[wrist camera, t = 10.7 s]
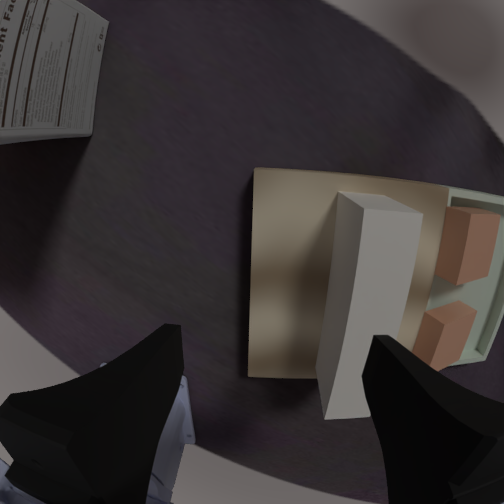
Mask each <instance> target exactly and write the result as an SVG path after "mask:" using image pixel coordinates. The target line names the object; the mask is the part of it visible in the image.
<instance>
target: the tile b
mask: <svg viewBox="0 0 504 504" xmlns="http://www.w3.org/2000/svg"><path fill="white" fill-rule="evenodd" d="M500 217H501V215H500V214H497V213H494V212H491V211H488V210H485V209H482V208H474V207H454V206H447V207H446V214H445V221H444V227H443V233H442V239H441V244H440V250H439V255H438V259H437V264H436V269H435V273H434V274H435V275H437V276H439V277H441V278H443V279H445V280H446V281H448V282H450V283H452V284H454V285H456V286H457V285H460V284H464V283H467V282H471V281H474V280H477V279H481V278H484V277H487V276H488V273H489V269H490V265H491V261H492V257H493V253H494V248H495V244H496V239H497V234H498V228H499V223H500Z"/></svg>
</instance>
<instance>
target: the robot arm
mask: <svg viewBox="0 0 504 504" xmlns="http://www.w3.org/2000/svg"><path fill="white" fill-rule="evenodd" d="M183 371H184V361H183V349H182V337H181V325H174V324H164V325H162V326H161V327H159V328H158V329H157V330H155V331H154V332H153V333H151V334H150V335H149V336H148V337H146V338H145V339H144V340H142V341H141V342H139V343H138V344H137V345H135V346H134V347H133V348H131V349H130V350H128V351H127V352H125V353H123V354H122V355H120V356H119V357H117V358H116V359H114V360H113V361H111V362H109V363H102V364H101V365H100V368H98V369H96V370H94V371H92V372H90V373H88V374H85V375H83V376H80V377H78V378H75V379H72V380H70V381H67V382H65V383H61V384H58V385H55V386H51V387H47V388H43V389H38V390H33V391H27V392H20V393H13V394H10V395H9V396H8V398H7V399H6V400H5V401H4V403H3V404H2V405H1V406H0V442H1V443H2V445H3V446H4V447H5V449H6V450H7V452H8V453H9V454H10V456H11V457H12V458H13V460H14V461H13V463H12V464H11V466H9V465H8V464H7V463H6V462H5V461H3V460H2V459H0V504H173V503H171V502H170V500H171V496H172V491H171V490H172V489H173V487H174V484H175V480H176V476H177V472H178V468H179V464H180V460H181V456H182V453H183V449H184V445H185V444H195V441H196V438H195V432H194V426H193V419H192V413H191V406H190V398H189V391H188V383H187V378H186V377H185V376H183ZM362 382H363V388H364V393H365V398H366V401H367V404H368V407H369V410H370V413H371V416H372V419H373V422H374V425H375V428H376V431H377V434H378V437H379V440H380V444H381V448H382V452H383V458H384V464H385V470H386V478H387V486H388V499H389V504H504V403H501V402H498V401H495V400H492V399H489V398H487V397H484V396H482V395H479V394H477V393H475V392H472V391H470V390H468V389H466V388H464V387H462V386H461V385H459V384H457V383H455V382H453V381H452V380H450V379H448V378H447V377H445V376H443V375H442V374H441V373H439V372H438V371H436V370H435V369H433V368H432V367H430V366H429V365H428V364H426V363H425V362H424V361H422V360H421V359H420V358H418V357H417V356H416V355H414V354H413V353H412V352H411V351H409V350H408V349H407V348H405V347H404V346H403V345H402V344H400V343H399V342H398V341H396V340H395V339H394V338H392V337H391V336H389V335H373V338H372V342H371V346H370V349H369V353H368V356H367V359H366V363H365V366H364V369H363V372H362ZM180 384H182V385H183V386H182V385H180Z"/></svg>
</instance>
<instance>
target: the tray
mask: <svg viewBox="0 0 504 504" xmlns="http://www.w3.org/2000/svg"><path fill="white" fill-rule="evenodd" d="M437 185H438V184H437ZM440 186H443V187H447V188H449V196H448V204H447V206H454V207H474V208H482V209H485V210H488V211H491V212H494V213H497V214H500V215H501V217H500V223H499V228H498V234H497V239H496V244H495V248H494V253H493V257H492V261H491V265H490V269H489V273H488V276H487V277H484V278H481V279H477V280H474V281H471V282H467V283H464V284H460V285H457V286H456V285H454V284H452V283H450V282H448V281H446V280H445V279H443V278H441V277H439V276H437V275H435V276H434V280H433V284H432V288H431V292H430V296H429V300H428V303H427V307H426V311H428V310H431V309H434V308H437V307H440V306H443V305H446V304H449V303H452V302H455V301H458V300H460V301H462V302H463V303H465V304H467V305H468V306H470V307H472V308H473V309H475V310H477V314H476V317H475V320H474V322H473V325H472V328H471V331H470V334H469V336H468V339H467V341H466V344H465V347H464V349H463V351H462V354H461V356H460V359H459V360H458V361H456V362H454V363H452V364H451V365H449V366H452V365H459V364H466V363H472V362H478V361H484V360H485V359H486V357H487V355H488V352H489V350H490V348H491V345H492V343H493V341H494V338H495V336H496V333H497V331H498V328H499V325H500V323H501V320H502V317H503V314H504V197H503V196H499V195H494V194H489V193H484V192H479V191H473V190H468V189H462V188H457V187H451V186H445V185H440Z"/></svg>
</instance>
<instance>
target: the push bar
mask: <svg viewBox="0 0 504 504" xmlns="http://www.w3.org/2000/svg"><path fill="white" fill-rule="evenodd" d="M422 219H423V214H422V213H420V212H418V211H416V210H414V209H412V208H410V207H408V206H406V205H404V204H402V203H400V202H398V201H395V200H393V199H391V198H389V197H387V196H385V195H375V194H364V193H353V192H341V191H338V200H337V212H336V222H335V233H334V242H333V251H332V260H331V268H330V276H329V284H328V291H327V299H326V306H325V312H324V319H323V325H322V332H321V338H320V344H319V350H318V355H317V361H316V366H315V368H316V374H317V379H318V385H319V391H320V396H321V402H322V408H323V414H324V419H344V418H359V417H370V414H371V413H370V410H369V407H368V404H367V401H366V398H365V393H364V388H363V382H362V372H363V369H364V366H365V363H366V359H367V356H368V353H369V349H370V346H371V342H372V338H373V335H389V336H391V337H392V338H394V339H395V340H396V339H397V335H398V332H399V328H400V325H401V321H402V317H403V313H404V310H405V306H406V302H407V297H408V293H409V289H410V284H411V280H412V275H413V270H414V266H415V260H416V255H417V250H418V244H419V238H420V232H421V226H422Z"/></svg>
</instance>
